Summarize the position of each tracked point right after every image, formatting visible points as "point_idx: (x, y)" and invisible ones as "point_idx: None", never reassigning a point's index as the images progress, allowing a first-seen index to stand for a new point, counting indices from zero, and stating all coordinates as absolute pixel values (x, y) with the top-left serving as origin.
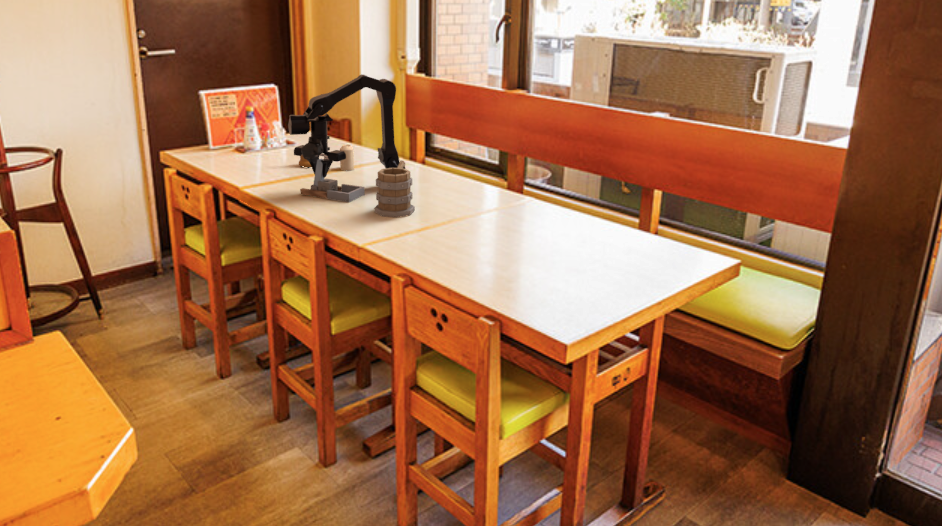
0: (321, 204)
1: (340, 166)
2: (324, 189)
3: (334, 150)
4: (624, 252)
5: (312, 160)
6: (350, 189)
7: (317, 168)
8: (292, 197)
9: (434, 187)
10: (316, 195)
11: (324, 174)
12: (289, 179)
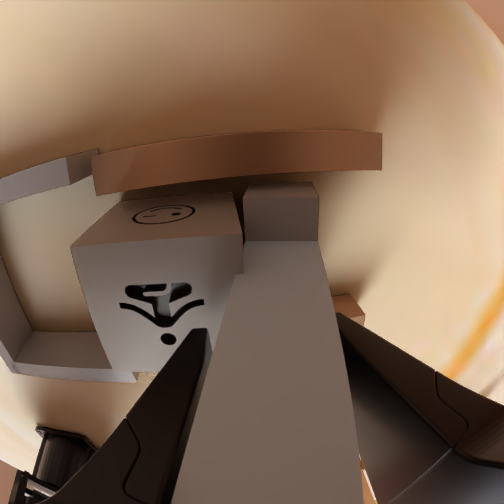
0: (58, 28)
1: (362, 473)
2: (155, 213)
3: None
4: None
5: (484, 486)
6: (74, 349)
7: (314, 399)
8: (360, 43)
9: (23, 450)
10: (204, 136)
11: (173, 354)
12: (484, 327)
